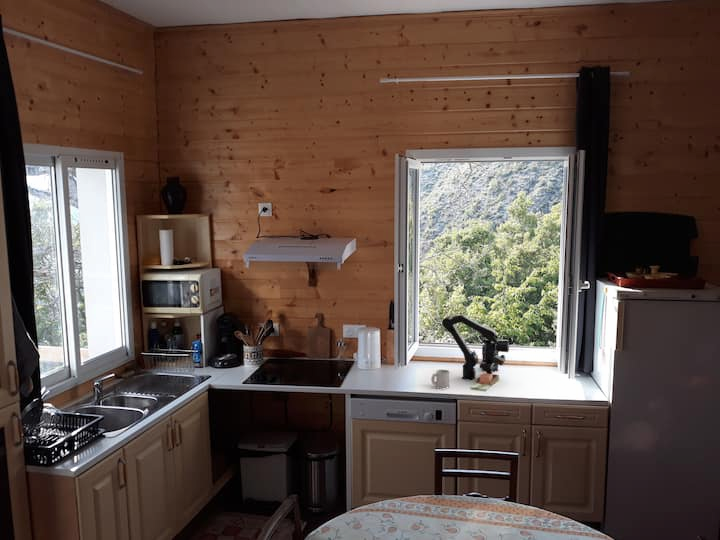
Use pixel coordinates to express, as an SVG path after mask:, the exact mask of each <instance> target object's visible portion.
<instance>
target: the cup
mask: <svg viewBox="0 0 720 540" xmlns="http://www.w3.org/2000/svg"><path fill="white" fill-rule="evenodd" d="M435 378H436V381H435ZM431 383H432V384H433V386H434V385H435V386H436V388H437V387H439V388H438V389H440V388H447V387H449V388H450V370H448V369H438V370H436V371H435V373H433V374H432V376H431ZM447 389H448V388H447Z"/></svg>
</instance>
